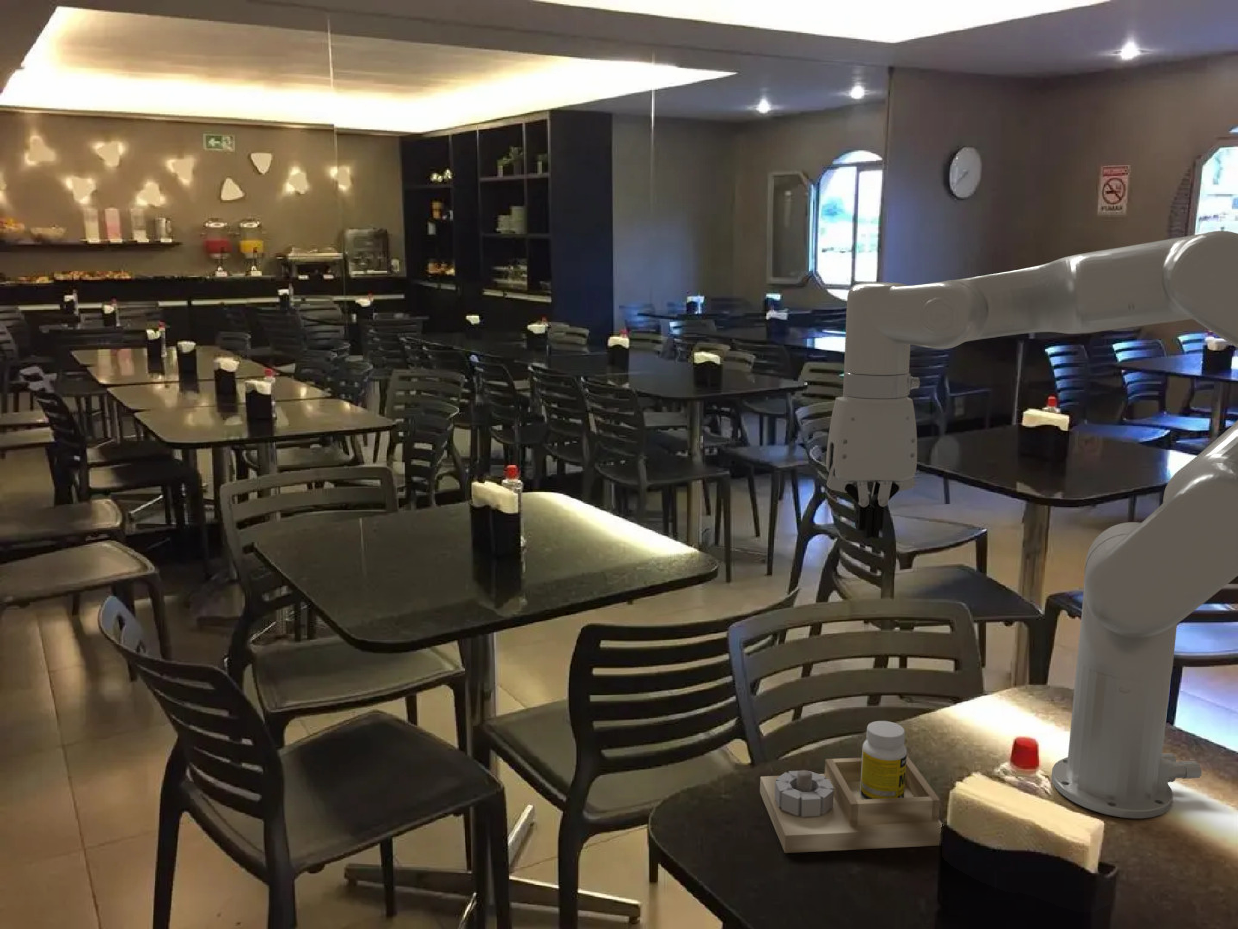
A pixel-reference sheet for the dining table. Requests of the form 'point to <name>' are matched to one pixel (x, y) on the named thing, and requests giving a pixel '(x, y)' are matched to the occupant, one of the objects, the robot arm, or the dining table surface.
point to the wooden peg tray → (857, 813)
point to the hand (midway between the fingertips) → (868, 535)
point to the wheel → (804, 795)
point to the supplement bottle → (883, 761)
